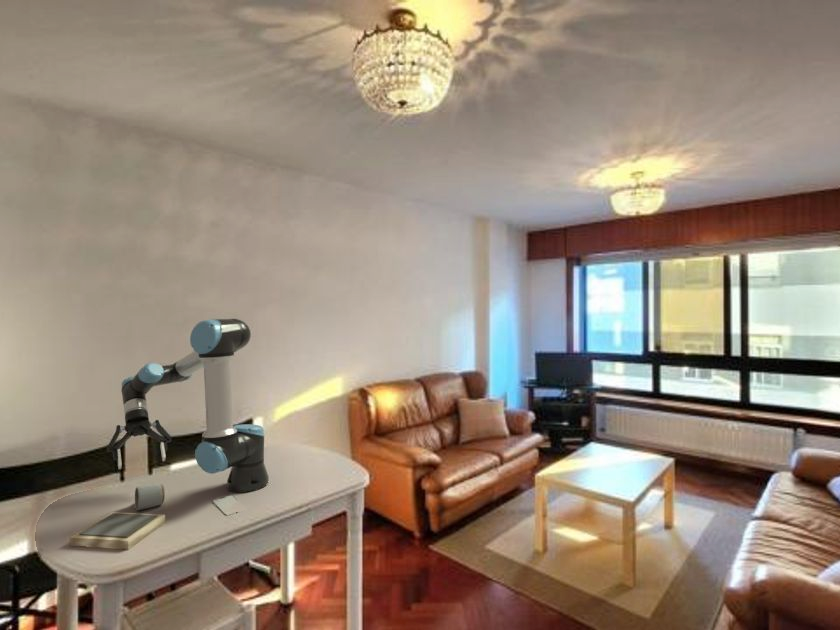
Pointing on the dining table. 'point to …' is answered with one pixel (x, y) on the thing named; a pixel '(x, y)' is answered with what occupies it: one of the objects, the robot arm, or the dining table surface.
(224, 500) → the smartphone
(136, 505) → the ceramic mug
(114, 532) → the wooden picture frame
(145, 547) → the dining table surface
